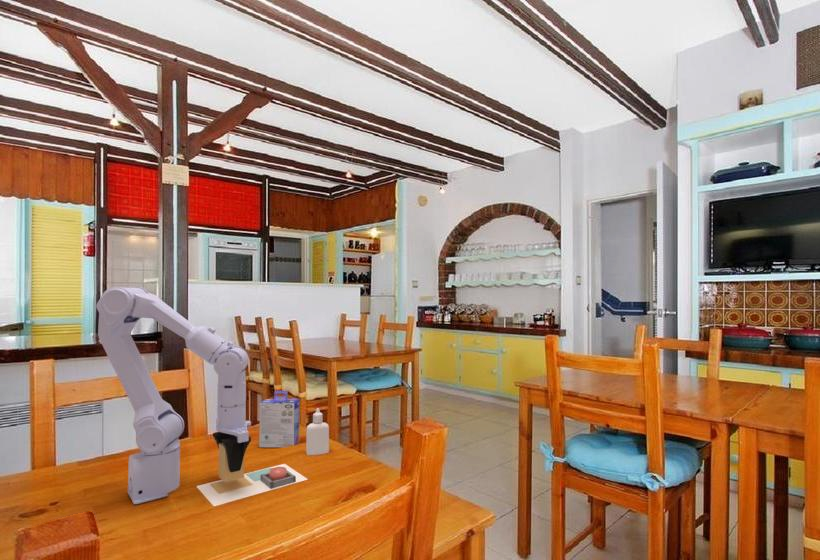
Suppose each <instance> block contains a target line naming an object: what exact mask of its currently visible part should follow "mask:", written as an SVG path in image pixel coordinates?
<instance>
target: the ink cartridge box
mask: <svg viewBox="0 0 820 560" xmlns="http://www.w3.org/2000/svg"><path fill="white" fill-rule="evenodd" d="M288 393H289V392H288V390H275V391H274V395H273V398H266V399H264V400H262V401H261V402H259V429H258V431H259V433H258V434H259V435H258V436H259V437H258V441H259V442H258V447H259V448H283V449H284V448H286V447H291V446H296V445H298V444H299V443H300V398H288ZM279 394H284V395H279Z"/></svg>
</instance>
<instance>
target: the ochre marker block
mask: <svg viewBox="0 0 820 560" xmlns="http://www.w3.org/2000/svg"><path fill="white" fill-rule="evenodd" d="M244 474H245V457H244V458H243V462H242V466H241V469H240V470H239V471H235V472H230V471H229V467H228V459H227V454H226V450H225V447H224V445H223V443H219V448H218V477H219V478H220V480H223V481H224V482H228V481H232V480H235V479H239V478H243V477H244Z"/></svg>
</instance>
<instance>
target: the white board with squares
mask: <svg viewBox="0 0 820 560" xmlns="http://www.w3.org/2000/svg"><path fill="white" fill-rule="evenodd" d="M275 467H285V468H286V469H287V478H283V479H280V480H276V481H271V480H270V479H269V471H270V469H272V468H275ZM307 480H308V478H307V477H306V476H304V475H303V474H301V473H299V472H297V470H295V469H293V468H292V467H290V466H289V465H287V464H286V463H283V464H282V463H281V464H279V465H275V466H269V467H266V468H263V469H262V468H261V469H259V470H254V471H251V472H247V473H244V477H243V478H239V479H235V480H232V481H228V482H224V481H223V480H222V479H219V480H216V481H211V482H207V483H204V484H200V485H196V488H197V489H198V491H200V493H202V495H203V496H204V497H205V498H206V500H207V501H208V502H210V504H211V505H212V506H213V507H217V506H221V505H224V504H228V503H230V502H231V503H232V502H235V501H238V500H242V499H245V498H248V497H252V496H255V495H259V494H262V493H263V494H264V493H265V492H269V491H273V490H277V489H280V488H283V487H286V486H290V485H293V484H297V483H302V482H304V481H307Z"/></svg>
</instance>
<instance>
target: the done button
mask: <svg viewBox="0 0 820 560" xmlns="http://www.w3.org/2000/svg"><path fill="white" fill-rule="evenodd" d="M283 478H287V469H286V468H285V467H275V468H272V469H270V471H269V479H270V480H271V481H276V480H280V479H283Z"/></svg>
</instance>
